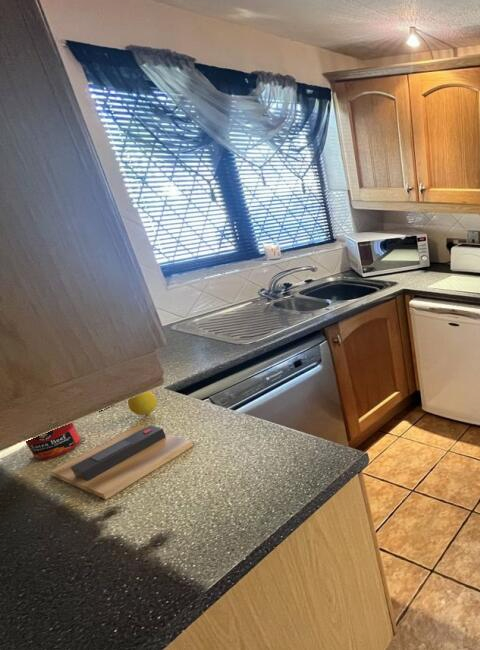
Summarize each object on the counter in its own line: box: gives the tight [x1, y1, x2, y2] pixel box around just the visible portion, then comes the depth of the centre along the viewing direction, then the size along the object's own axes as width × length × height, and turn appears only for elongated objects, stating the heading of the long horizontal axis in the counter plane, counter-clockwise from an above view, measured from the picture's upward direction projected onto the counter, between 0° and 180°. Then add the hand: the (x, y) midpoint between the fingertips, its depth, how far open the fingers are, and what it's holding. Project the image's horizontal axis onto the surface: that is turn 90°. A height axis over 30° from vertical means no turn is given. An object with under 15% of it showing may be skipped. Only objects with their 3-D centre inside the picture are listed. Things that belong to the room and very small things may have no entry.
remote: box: [71, 424, 166, 481], centre depth 89 cm, size 15×5×3 cm, turn 160°
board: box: [49, 424, 194, 500], centre depth 90 cm, size 20×17×2 cm
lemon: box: [127, 390, 158, 416], centre depth 105 cm, size 6×6×8 cm
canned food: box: [25, 422, 81, 460], centre depth 92 cm, size 8×8×11 cm
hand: (92, 403), depth 84 cm, fingers open, 9 cm apart
